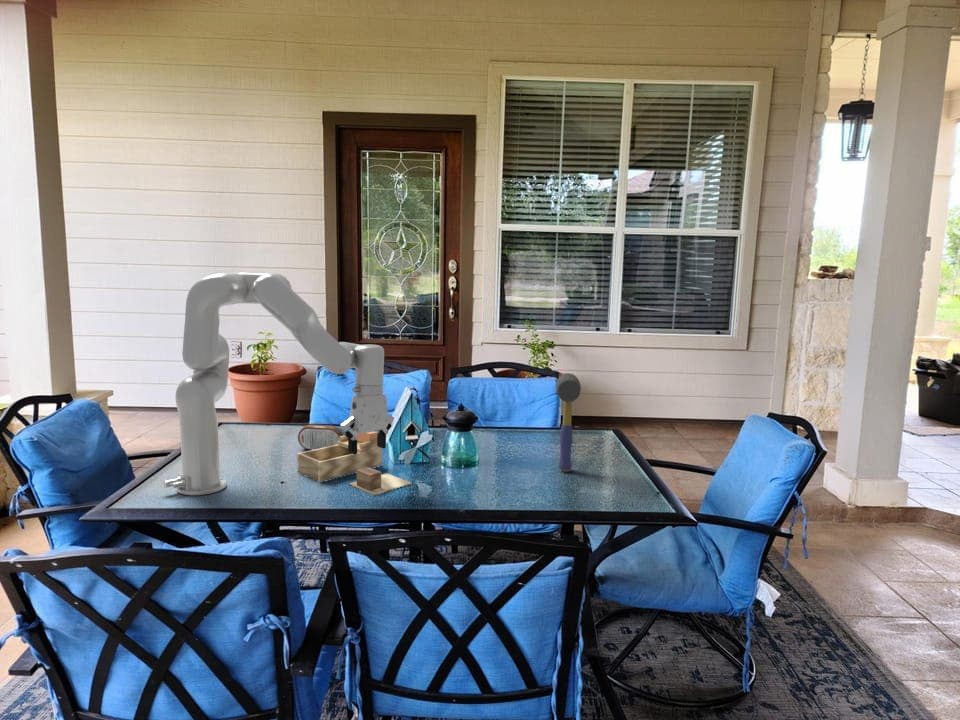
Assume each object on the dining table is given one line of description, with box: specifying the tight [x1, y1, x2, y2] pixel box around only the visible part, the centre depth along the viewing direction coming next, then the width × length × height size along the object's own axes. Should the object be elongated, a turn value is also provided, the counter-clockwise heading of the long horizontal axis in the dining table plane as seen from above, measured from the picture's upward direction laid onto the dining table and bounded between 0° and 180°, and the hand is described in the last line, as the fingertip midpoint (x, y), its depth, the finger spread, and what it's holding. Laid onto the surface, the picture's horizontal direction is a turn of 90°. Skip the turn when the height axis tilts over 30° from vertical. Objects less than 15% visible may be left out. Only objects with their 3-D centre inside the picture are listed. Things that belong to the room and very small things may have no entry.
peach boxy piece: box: [353, 431, 378, 443], centre depth 204 cm, size 3×9×5 cm, turn 46°
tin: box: [297, 424, 344, 450], centre depth 219 cm, size 15×3×8 cm, turn 84°
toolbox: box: [296, 435, 383, 483], centre depth 198 cm, size 22×12×8 cm, turn 136°
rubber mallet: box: [555, 372, 582, 472], centre depth 200 cm, size 12×8×30 cm, turn 173°
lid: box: [348, 467, 413, 496], centre depth 186 cm, size 14×12×6 cm
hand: (367, 450), depth 182 cm, fingers open, 9 cm apart
